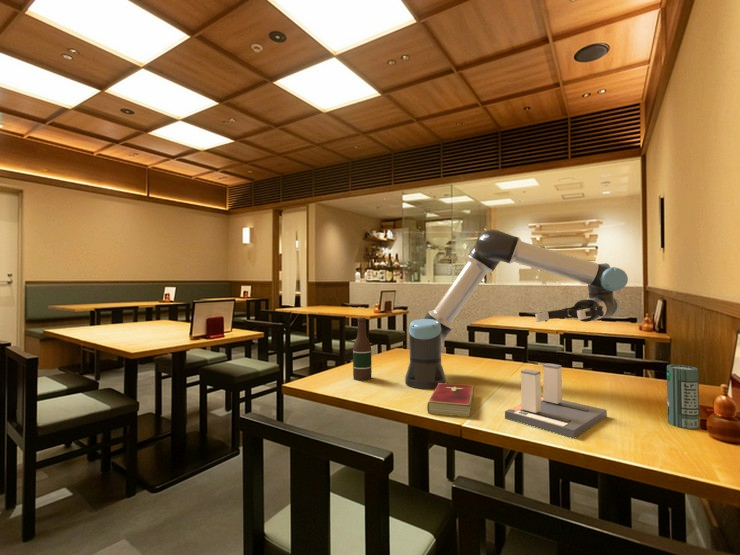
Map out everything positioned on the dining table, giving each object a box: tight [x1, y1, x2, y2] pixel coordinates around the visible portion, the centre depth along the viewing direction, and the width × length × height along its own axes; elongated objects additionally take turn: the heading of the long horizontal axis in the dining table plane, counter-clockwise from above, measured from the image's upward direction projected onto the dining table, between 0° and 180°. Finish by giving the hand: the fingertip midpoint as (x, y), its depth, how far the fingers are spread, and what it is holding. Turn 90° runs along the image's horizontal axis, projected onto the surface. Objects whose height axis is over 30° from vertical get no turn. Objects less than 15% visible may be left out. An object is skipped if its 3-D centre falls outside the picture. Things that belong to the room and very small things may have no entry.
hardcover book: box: [426, 382, 475, 417], centre depth 117 cm, size 12×21×4 cm, turn 162°
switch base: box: [504, 368, 608, 439], centre depth 105 cm, size 18×22×13 cm
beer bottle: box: [352, 316, 372, 381], centre depth 150 cm, size 8×8×24 cm
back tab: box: [542, 363, 563, 404], centre depth 111 cm, size 4×3×11 cm
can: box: [666, 364, 701, 430], centre depth 99 cm, size 6×6×15 cm
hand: (556, 316), depth 118 cm, fingers open, 13 cm apart
